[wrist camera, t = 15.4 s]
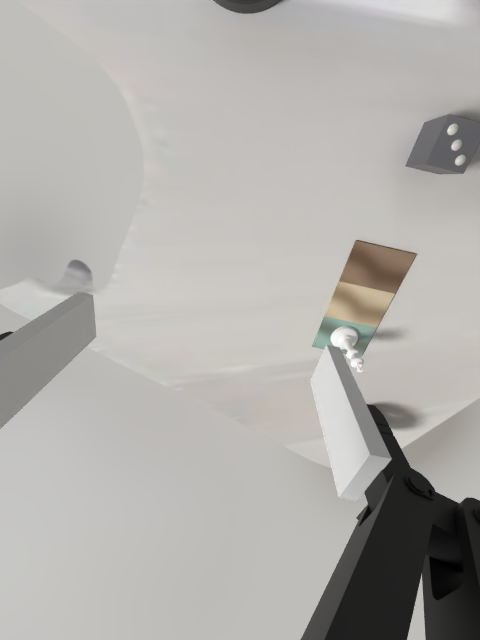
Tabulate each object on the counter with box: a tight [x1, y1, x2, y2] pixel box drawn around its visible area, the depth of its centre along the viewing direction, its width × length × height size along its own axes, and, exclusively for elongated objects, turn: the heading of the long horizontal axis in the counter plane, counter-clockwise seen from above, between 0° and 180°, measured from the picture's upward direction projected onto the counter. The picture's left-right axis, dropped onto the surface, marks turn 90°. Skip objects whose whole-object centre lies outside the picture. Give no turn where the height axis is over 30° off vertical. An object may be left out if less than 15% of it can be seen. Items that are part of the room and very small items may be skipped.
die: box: [406, 115, 480, 174], centre depth 33 cm, size 5×5×5 cm
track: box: [312, 241, 416, 357], centre depth 47 cm, size 21×10×1 cm, turn 168°
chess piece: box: [331, 326, 364, 372], centre depth 46 cm, size 5×5×10 cm
